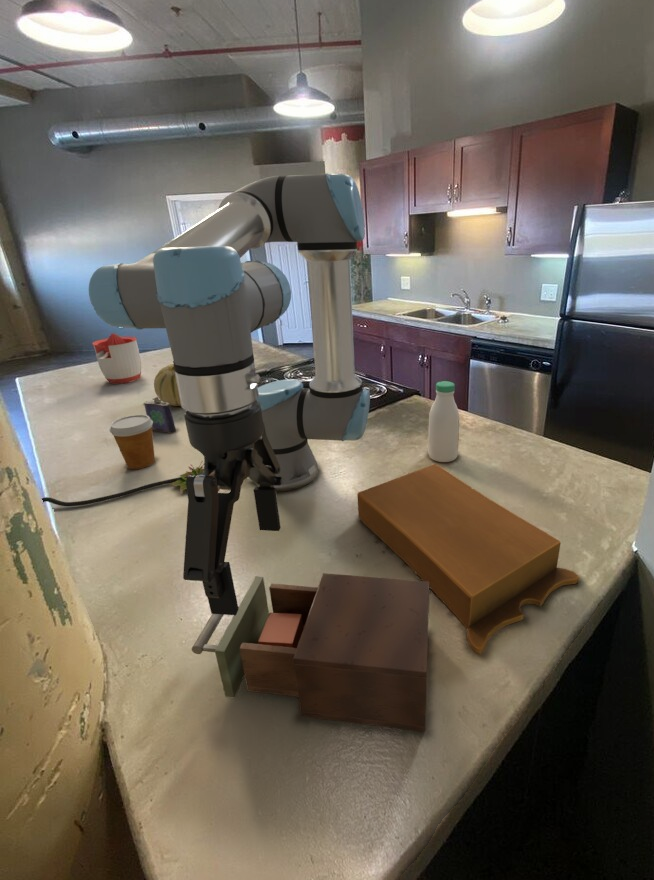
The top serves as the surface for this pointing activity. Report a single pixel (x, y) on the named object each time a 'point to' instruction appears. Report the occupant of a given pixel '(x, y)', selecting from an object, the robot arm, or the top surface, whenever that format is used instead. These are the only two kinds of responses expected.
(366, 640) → the cabinet
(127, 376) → the citrus juicer
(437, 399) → the milk bottle
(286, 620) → the block
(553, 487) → the top surface
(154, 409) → the flask
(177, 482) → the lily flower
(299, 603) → the drawer
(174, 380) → the cantaloupe
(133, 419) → the disposable coffee cup
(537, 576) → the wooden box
